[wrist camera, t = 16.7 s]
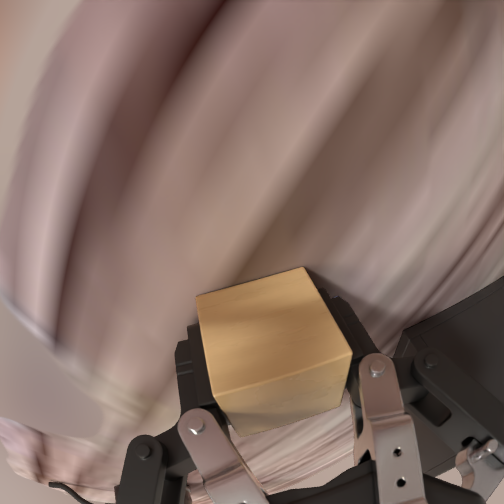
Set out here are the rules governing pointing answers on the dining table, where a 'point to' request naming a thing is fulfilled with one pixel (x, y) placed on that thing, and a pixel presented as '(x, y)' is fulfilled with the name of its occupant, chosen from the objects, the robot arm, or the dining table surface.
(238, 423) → the block
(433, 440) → the dark grey box
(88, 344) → the dining table surface
